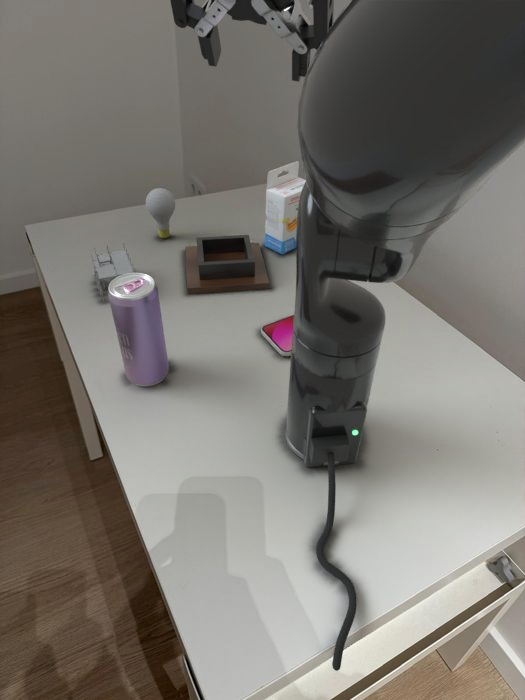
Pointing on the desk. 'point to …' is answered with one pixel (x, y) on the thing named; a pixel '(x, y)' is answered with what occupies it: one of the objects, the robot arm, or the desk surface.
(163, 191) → the light bulb
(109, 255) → the building frame
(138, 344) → the beverage can
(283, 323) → the smartphone
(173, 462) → the desk surface
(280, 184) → the ink box
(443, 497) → the desk surface
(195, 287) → the base pad
